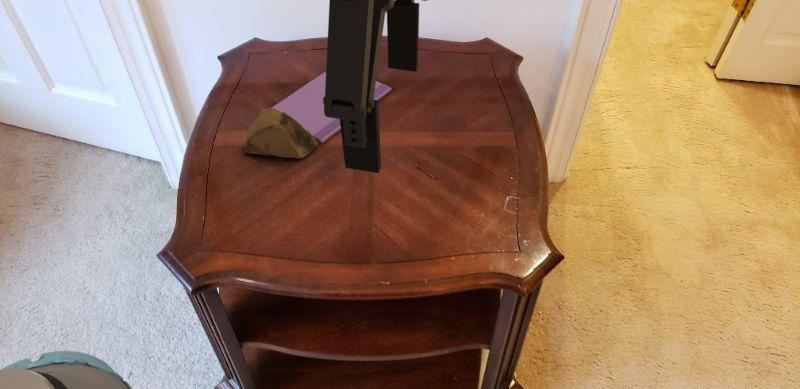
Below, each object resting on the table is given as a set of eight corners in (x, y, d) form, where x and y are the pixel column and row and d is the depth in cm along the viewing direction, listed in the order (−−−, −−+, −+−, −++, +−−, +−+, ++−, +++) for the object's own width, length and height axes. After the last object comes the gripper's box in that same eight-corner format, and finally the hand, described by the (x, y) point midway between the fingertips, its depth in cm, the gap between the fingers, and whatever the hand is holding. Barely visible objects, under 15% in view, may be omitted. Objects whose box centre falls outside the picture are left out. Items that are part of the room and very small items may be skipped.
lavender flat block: (322, 143, 90) (322, 140, 90) (268, 112, 96) (267, 109, 95) (391, 90, 100) (391, 87, 99) (338, 64, 105) (338, 61, 105)
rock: (223, 151, 86) (270, 168, 81) (232, 96, 84) (280, 111, 80) (272, 151, 95) (316, 167, 91) (281, 102, 94) (327, 115, 89)
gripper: (383, -84, 23) (392, 231, 39) (471, -222, 39) (452, 40, 55) (219, -99, 24) (291, 212, 40) (370, -226, 41) (380, 31, 56)
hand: (385, 113), depth 48 cm, fingers open, 13 cm apart
